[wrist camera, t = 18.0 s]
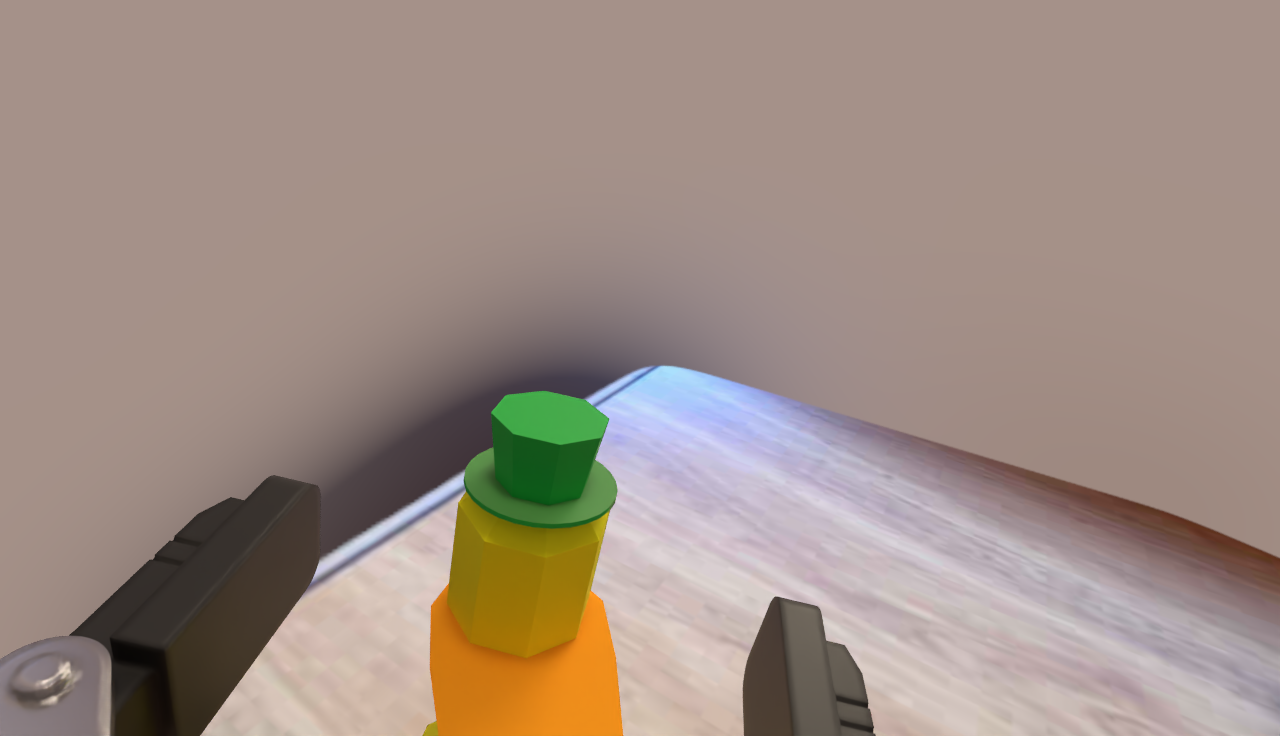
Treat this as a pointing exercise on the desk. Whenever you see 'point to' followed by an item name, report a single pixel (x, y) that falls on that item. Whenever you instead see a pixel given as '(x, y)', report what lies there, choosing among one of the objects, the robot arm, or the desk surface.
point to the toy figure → (528, 582)
